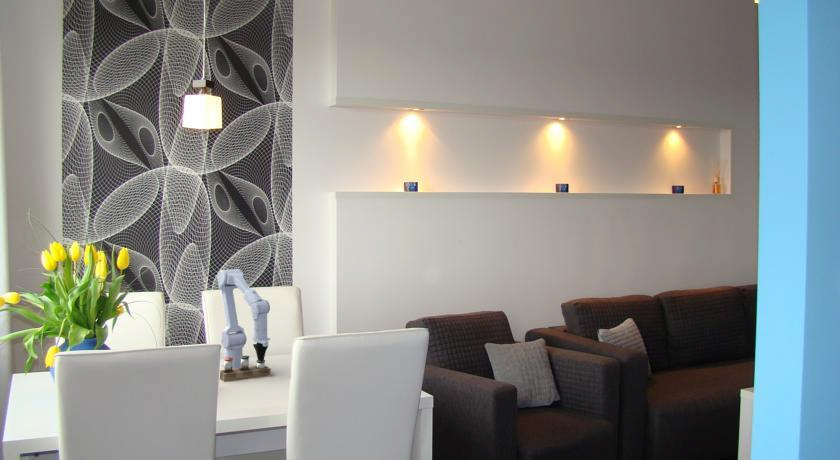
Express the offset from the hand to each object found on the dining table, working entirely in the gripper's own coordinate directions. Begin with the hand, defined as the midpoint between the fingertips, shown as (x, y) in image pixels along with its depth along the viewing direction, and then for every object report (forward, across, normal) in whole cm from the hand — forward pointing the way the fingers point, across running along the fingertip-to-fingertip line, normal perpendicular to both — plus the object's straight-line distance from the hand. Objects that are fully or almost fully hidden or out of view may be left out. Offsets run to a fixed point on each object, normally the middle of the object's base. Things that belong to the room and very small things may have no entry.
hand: (260, 360), depth 313 cm
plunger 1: (+3, 0, +7) cm, 8 cm away
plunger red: (+3, 0, +14) cm, 14 cm away
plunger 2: (+5, 0, 0) cm, 5 cm away
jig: (+6, 0, +7) cm, 9 cm away
